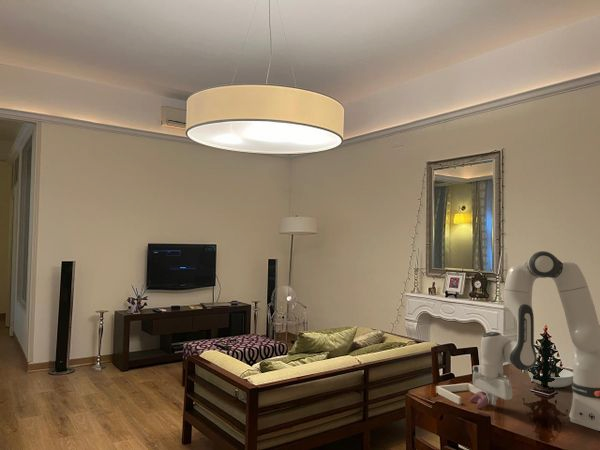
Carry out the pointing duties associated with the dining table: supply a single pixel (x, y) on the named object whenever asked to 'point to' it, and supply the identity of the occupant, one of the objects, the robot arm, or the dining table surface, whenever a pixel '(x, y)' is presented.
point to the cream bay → (447, 390)
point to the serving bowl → (558, 379)
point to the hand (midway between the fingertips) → (492, 403)
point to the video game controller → (480, 399)
